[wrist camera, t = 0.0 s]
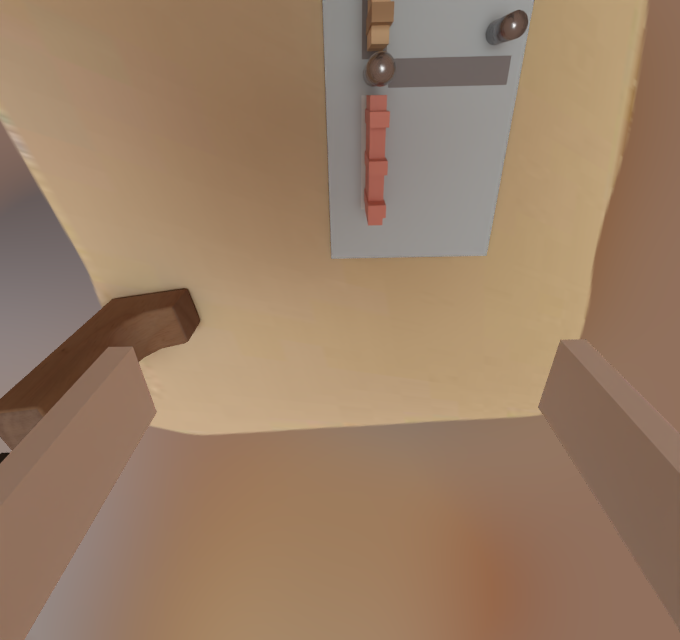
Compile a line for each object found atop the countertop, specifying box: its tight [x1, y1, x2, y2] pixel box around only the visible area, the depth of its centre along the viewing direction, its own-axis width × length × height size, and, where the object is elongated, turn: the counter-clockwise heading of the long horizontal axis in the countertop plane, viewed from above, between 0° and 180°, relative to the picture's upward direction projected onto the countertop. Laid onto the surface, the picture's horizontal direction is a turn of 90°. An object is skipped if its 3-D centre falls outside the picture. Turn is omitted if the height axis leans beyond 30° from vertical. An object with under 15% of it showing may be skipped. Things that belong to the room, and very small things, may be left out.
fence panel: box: [364, 95, 390, 226], centre depth 31 cm, size 10×1×6 cm, turn 1°
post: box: [363, 51, 396, 87], centre depth 28 cm, size 2×2×8 cm
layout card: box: [323, 0, 534, 259], centre depth 32 cm, size 28×16×1 cm, turn 1°
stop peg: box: [486, 10, 528, 45], centre depth 28 cm, size 2×2×4 cm
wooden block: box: [0, 289, 200, 450], centre depth 35 cm, size 9×4×18 cm, turn 99°
